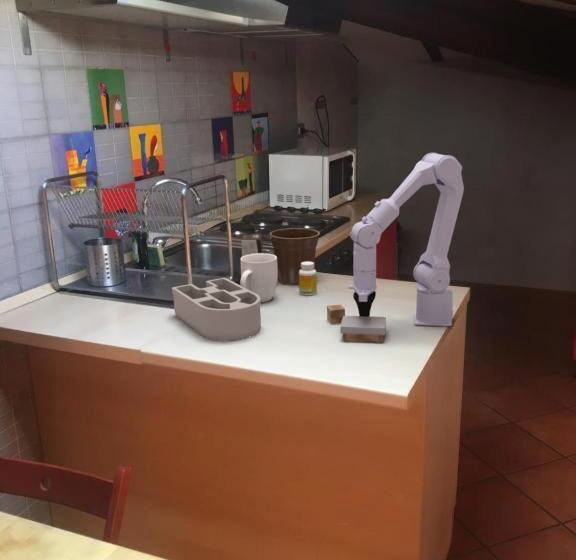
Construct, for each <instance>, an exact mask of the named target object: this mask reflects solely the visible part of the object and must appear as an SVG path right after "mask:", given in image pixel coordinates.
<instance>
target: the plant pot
mask: <svg viewBox="0 0 576 560" xmlns="http://www.w3.org/2000/svg"><path fill="white" fill-rule="evenodd" d="M320 233H321V232H320V231H319V230H316V229H312V228H305V227H304V228H302V227H291V228H290V227H288V228H281V229H276V230H271V232H269V236H270V237H271V244H272V245H271V246H272V247H273V255H275V256H276V257H277V266H278V267H277V269H278V278H277V283H278V282H279V283H282V284H283V285H289V286H290V285H291V286H297V285H299V271H300V270H301V269H302V268H301V263H302V262H313V263H314V268H313V269H315V263H316V255H317V254H316V253H317V246H318V244H319V243H318V242H319V236H320Z"/></svg>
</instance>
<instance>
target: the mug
mask: <svg viewBox="0 0 576 560" xmlns="http://www.w3.org/2000/svg"><path fill="white" fill-rule="evenodd" d="M277 267H278V266H277V257H276V256H275V255H274V254H272V253H264V252H263V253H257V254H249V255H245V256H243V257H242V256H241V257H240V276H241V277H240V284H239V285H240V286H242V287H244V288H246V289H248V290H250V291H252V292H254V293H256V294H257V295H259V296H260V302H261V303H267V302H269V301H271V300H272V299H273V297H274V295H275V293H276V291H277V286H278V280H277V278H278V269H277Z"/></svg>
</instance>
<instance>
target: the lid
mask: <svg viewBox="0 0 576 560" xmlns="http://www.w3.org/2000/svg"><path fill="white" fill-rule="evenodd" d="M386 326H387V317H385V316H372V317H364V316H359V315H345V316H343V319H342V322H341V323H340V327H339V329H340V331H339V332H340V334H342V335H343V334H369V335H383V336H385V335H386V328H387V327H386Z"/></svg>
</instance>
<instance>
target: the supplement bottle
mask: <svg viewBox="0 0 576 560" xmlns="http://www.w3.org/2000/svg"><path fill="white" fill-rule="evenodd" d="M301 268H302V269H301V270H300V271H299V288H298V289H299V291H298V293H299V294H300V295H301V296H314V295H316V294H317V291H318V290H317V288H318V287H317V285H318V284H317V280H318V279H317V270H316V269H315V266H314V263H313V262H302V263H301ZM313 268H314V269H313Z"/></svg>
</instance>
